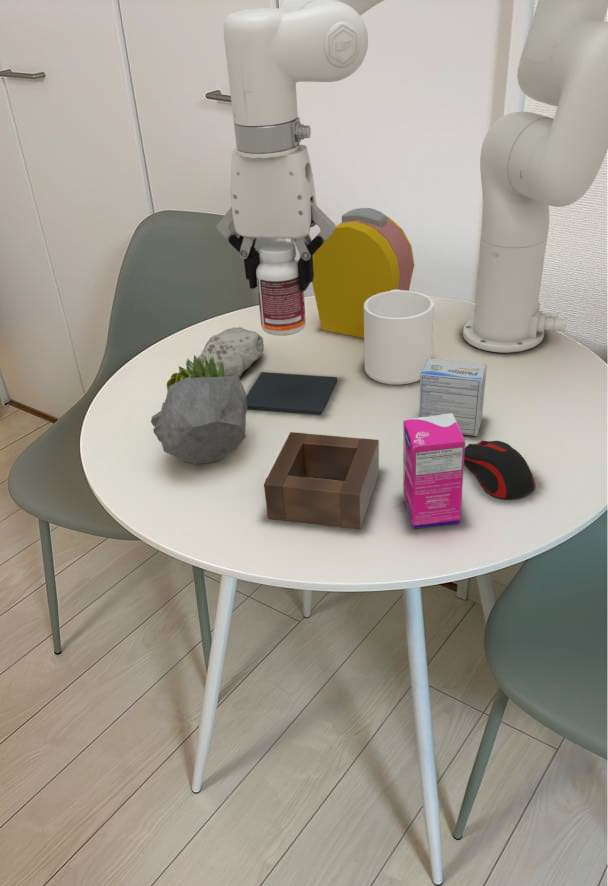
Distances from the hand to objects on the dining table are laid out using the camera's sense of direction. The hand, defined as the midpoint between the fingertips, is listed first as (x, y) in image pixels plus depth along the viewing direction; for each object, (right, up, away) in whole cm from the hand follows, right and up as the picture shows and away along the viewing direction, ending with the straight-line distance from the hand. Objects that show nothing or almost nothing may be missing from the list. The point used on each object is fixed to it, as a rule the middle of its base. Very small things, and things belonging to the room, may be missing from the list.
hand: (280, 284), depth 100 cm
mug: (+17, -7, +16) cm, 25 cm away
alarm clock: (+13, +2, +27) cm, 30 cm away
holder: (+6, -29, -8) cm, 30 cm away
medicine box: (+23, -19, +2) cm, 30 cm away
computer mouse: (+27, -26, -7) cm, 38 cm away
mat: (+1, -13, +11) cm, 17 cm away
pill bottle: (0, -5, +4) cm, 6 cm away
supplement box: (+18, -31, -12) cm, 38 cm away
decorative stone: (-9, -7, +19) cm, 22 cm away
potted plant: (-10, -21, +2) cm, 24 cm away
